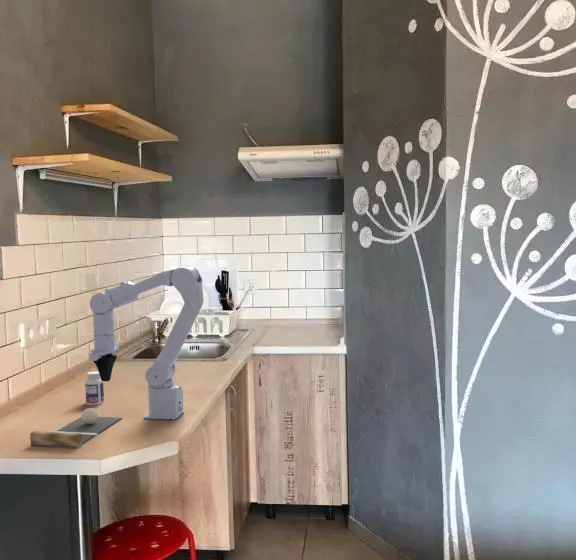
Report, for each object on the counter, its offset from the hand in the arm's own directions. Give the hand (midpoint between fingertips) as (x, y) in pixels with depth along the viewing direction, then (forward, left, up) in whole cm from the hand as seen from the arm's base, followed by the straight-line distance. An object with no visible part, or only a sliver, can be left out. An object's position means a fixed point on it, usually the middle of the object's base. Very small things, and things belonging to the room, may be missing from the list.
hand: (105, 380), depth 186 cm
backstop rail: (0, +27, -10) cm, 29 cm away
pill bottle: (+10, -12, -10) cm, 19 cm away
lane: (0, +15, -10) cm, 19 cm away
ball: (0, +10, -10) cm, 14 cm away
